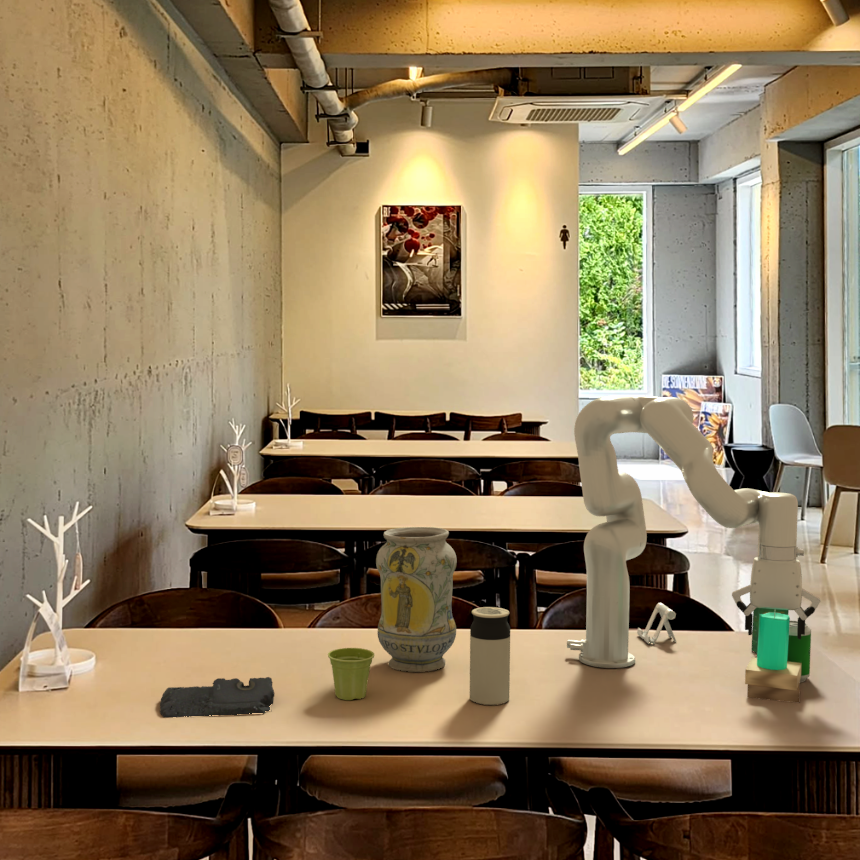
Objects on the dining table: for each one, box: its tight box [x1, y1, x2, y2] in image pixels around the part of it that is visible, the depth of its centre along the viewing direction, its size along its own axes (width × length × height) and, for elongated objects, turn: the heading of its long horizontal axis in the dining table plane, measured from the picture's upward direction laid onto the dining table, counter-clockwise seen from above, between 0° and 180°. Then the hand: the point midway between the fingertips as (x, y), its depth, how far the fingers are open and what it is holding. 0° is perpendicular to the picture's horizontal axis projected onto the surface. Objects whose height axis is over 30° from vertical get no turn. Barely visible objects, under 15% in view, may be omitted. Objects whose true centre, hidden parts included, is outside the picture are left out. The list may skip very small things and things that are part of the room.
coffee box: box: [750, 607, 790, 654], centre depth 256 cm, size 8×3×13 cm, turn 103°
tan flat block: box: [746, 684, 801, 703], centre depth 225 cm, size 10×10×3 cm
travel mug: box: [469, 606, 511, 706], centre depth 218 cm, size 8×8×18 cm
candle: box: [756, 612, 791, 670], centre depth 225 cm, size 6×6×12 cm
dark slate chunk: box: [159, 676, 275, 719], centre depth 215 cm, size 15×22×5 cm
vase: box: [375, 526, 458, 673], centre depth 243 cm, size 18×18×30 cm
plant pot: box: [327, 647, 375, 701], centre depth 220 cm, size 9×9×9 cm
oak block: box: [744, 656, 801, 690], centre depth 225 cm, size 10×10×3 cm
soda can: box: [787, 619, 812, 683], centre depth 235 cm, size 8×8×12 cm
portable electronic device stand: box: [636, 602, 677, 645], centre depth 266 cm, size 9×8×8 cm
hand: (774, 635), depth 224 cm, fingers open, 9 cm apart
